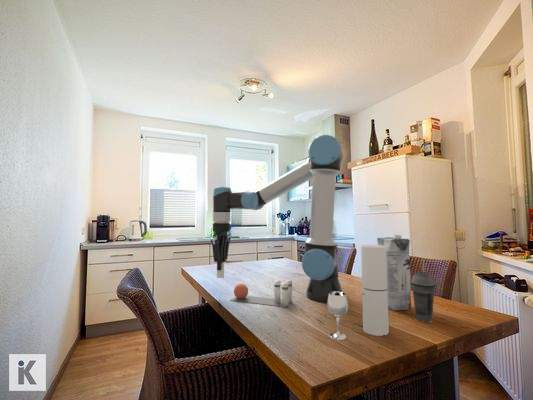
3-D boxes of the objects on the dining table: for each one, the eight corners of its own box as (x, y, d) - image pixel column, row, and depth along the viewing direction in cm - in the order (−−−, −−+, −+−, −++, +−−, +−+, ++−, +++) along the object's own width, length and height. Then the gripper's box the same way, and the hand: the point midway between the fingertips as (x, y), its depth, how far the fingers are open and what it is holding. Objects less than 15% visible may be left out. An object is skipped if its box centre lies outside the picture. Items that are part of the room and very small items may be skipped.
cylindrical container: (377, 337, 78) (374, 247, 79) (357, 328, 84) (356, 245, 86) (394, 332, 81) (391, 246, 82) (374, 324, 87) (372, 244, 89)
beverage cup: (430, 316, 94) (428, 256, 96) (441, 324, 87) (439, 260, 88) (408, 315, 95) (406, 256, 96) (417, 323, 88) (415, 259, 89)
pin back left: (289, 305, 106) (289, 282, 107) (287, 307, 104) (287, 284, 105) (283, 304, 107) (283, 282, 108) (281, 306, 105) (281, 283, 105)
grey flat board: (292, 301, 111) (292, 300, 111) (286, 307, 104) (286, 306, 104) (238, 295, 120) (238, 294, 120) (230, 300, 112) (230, 300, 112)
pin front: (281, 302, 110) (281, 280, 111) (279, 304, 108) (279, 281, 108) (275, 301, 111) (275, 280, 112) (273, 303, 109) (273, 281, 109)
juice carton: (394, 312, 98) (391, 235, 100) (376, 303, 108) (374, 234, 110) (415, 310, 100) (413, 235, 102) (395, 301, 110) (393, 233, 112)
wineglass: (325, 332, 81) (324, 291, 82) (344, 331, 82) (343, 290, 82) (331, 341, 76) (330, 296, 76) (351, 340, 76) (351, 296, 77)
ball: (250, 297, 117) (250, 282, 117) (244, 301, 111) (244, 286, 112) (237, 295, 119) (237, 281, 119) (231, 299, 113) (231, 285, 114)
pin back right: (292, 301, 111) (292, 280, 112) (291, 303, 109) (291, 281, 109) (286, 300, 112) (286, 279, 112) (285, 302, 110) (284, 280, 110)
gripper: (221, 222, 128) (220, 273, 127) (205, 222, 116) (204, 279, 114) (236, 222, 125) (235, 275, 124) (221, 223, 113) (220, 281, 112)
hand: (220, 277), depth 119 cm, fingers closed
